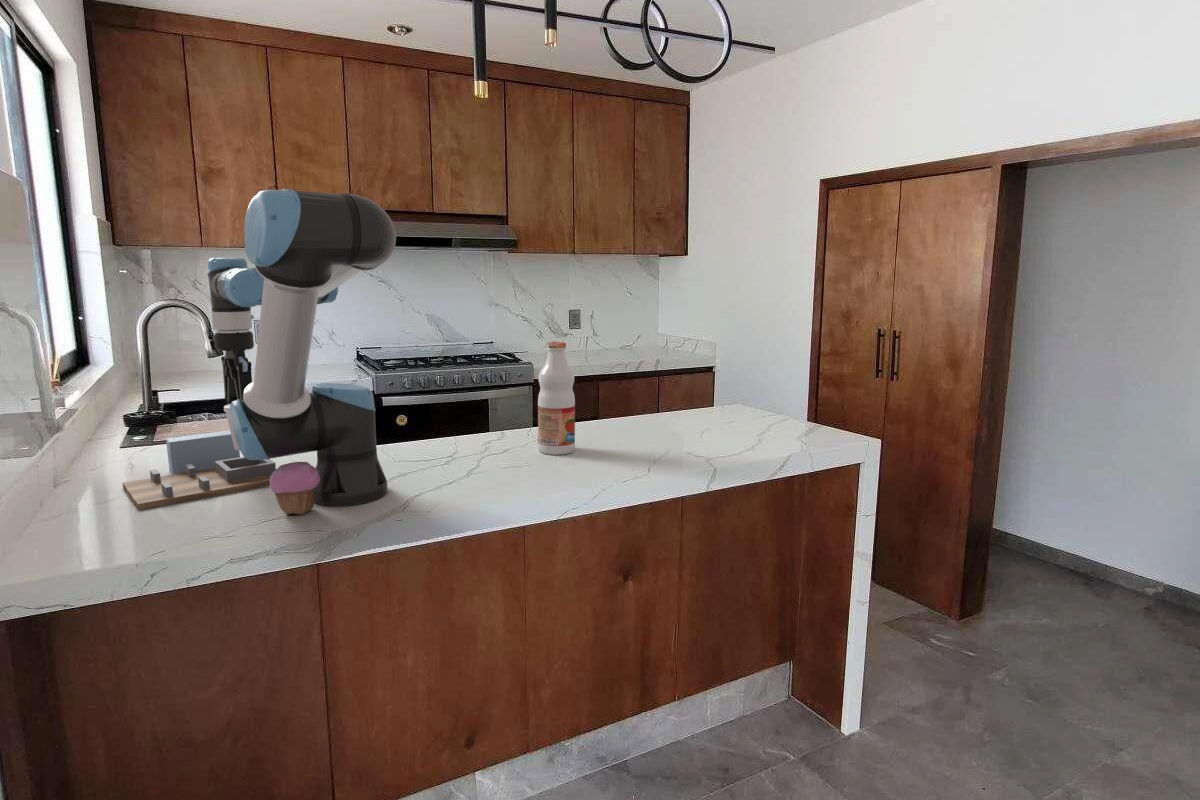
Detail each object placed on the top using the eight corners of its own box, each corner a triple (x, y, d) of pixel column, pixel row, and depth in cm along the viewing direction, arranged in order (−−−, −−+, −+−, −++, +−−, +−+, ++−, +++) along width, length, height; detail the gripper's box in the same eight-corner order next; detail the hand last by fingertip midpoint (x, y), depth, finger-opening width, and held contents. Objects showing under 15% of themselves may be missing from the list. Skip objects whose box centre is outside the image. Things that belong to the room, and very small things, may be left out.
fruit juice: (537, 446, 190) (536, 340, 185) (573, 445, 191) (573, 340, 186) (539, 456, 181) (538, 344, 176) (576, 455, 182) (576, 344, 177)
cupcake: (328, 504, 144) (324, 456, 142) (312, 520, 135) (308, 468, 133) (282, 505, 143) (279, 456, 141) (264, 520, 135) (260, 468, 133)
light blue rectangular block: (236, 462, 174) (233, 429, 173) (240, 466, 171) (237, 433, 169) (169, 472, 165) (165, 438, 164) (173, 476, 162) (169, 442, 160)
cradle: (276, 473, 160) (275, 462, 160) (227, 482, 154) (226, 471, 153) (262, 464, 167) (261, 453, 167) (215, 472, 161) (214, 461, 161)
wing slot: (210, 489, 149) (209, 480, 148) (166, 497, 144) (165, 487, 143) (191, 472, 161) (190, 463, 160) (150, 479, 156) (149, 470, 155)
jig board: (287, 482, 158) (287, 477, 158) (138, 509, 140) (137, 503, 140) (262, 464, 171) (261, 459, 171) (123, 487, 153) (122, 482, 153)
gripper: (265, 333, 150) (274, 441, 154) (239, 326, 164) (247, 425, 169) (226, 335, 145) (236, 447, 150) (202, 328, 159) (212, 430, 164)
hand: (242, 435), depth 159 cm, fingers closed on smoothie, 6 cm apart
